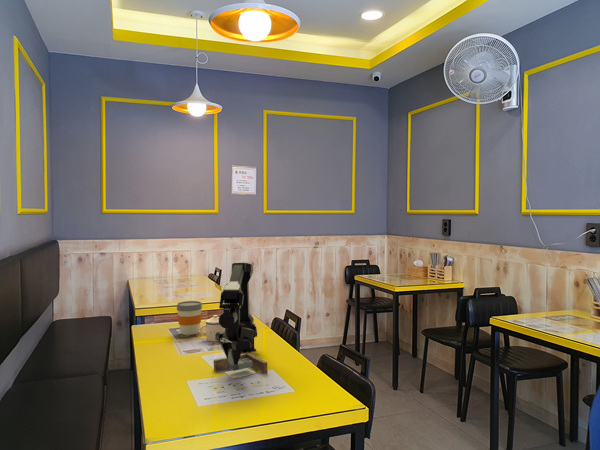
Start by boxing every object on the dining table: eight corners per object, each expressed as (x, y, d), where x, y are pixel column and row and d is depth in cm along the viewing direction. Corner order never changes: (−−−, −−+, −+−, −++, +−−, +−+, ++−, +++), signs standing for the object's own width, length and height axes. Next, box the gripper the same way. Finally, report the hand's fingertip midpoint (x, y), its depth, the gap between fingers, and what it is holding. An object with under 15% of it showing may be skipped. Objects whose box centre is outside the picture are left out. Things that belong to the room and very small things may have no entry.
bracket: (233, 370, 172) (233, 352, 171) (227, 367, 176) (227, 349, 175) (252, 366, 176) (252, 348, 176) (246, 363, 180) (246, 345, 180)
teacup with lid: (223, 335, 228) (223, 312, 228) (226, 340, 220) (226, 316, 219) (198, 338, 225) (198, 314, 224) (201, 343, 216) (200, 318, 216)
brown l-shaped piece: (248, 362, 188) (248, 352, 188) (267, 372, 176) (267, 362, 176) (213, 369, 180) (213, 359, 180) (231, 381, 167) (231, 370, 167)
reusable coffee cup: (199, 335, 229) (198, 305, 229) (174, 336, 229) (173, 305, 229) (204, 329, 242) (204, 300, 241) (180, 329, 242) (180, 300, 241)
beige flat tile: (246, 367, 182) (246, 367, 182) (256, 373, 176) (256, 372, 176) (224, 372, 176) (224, 372, 176) (233, 378, 170) (233, 378, 170)
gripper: (263, 323, 171) (263, 365, 171) (240, 314, 186) (240, 352, 186) (236, 328, 164) (236, 371, 165) (214, 318, 180) (215, 357, 180)
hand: (232, 362), depth 174 cm, fingers closed on bracket, 5 cm apart
